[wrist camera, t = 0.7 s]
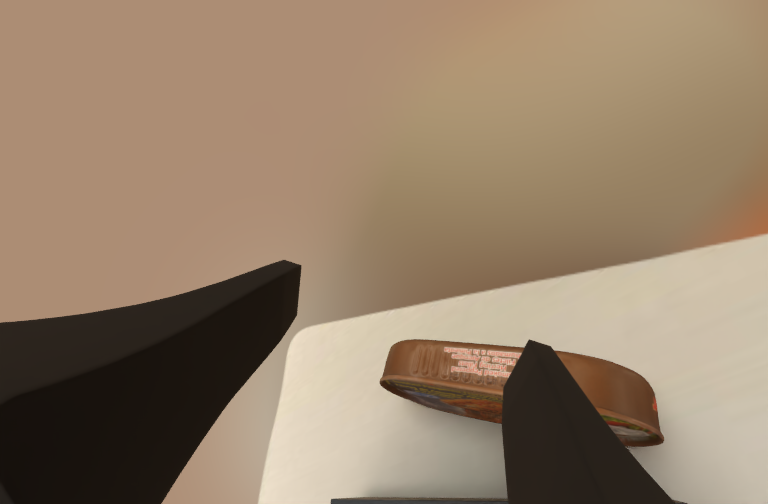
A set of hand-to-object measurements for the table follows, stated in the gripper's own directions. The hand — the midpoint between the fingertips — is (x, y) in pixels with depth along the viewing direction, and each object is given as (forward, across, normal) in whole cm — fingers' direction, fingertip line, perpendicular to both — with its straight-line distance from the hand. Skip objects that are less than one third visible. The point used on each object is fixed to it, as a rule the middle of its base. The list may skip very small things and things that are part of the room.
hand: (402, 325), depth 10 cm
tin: (+10, -8, +11) cm, 17 cm away
